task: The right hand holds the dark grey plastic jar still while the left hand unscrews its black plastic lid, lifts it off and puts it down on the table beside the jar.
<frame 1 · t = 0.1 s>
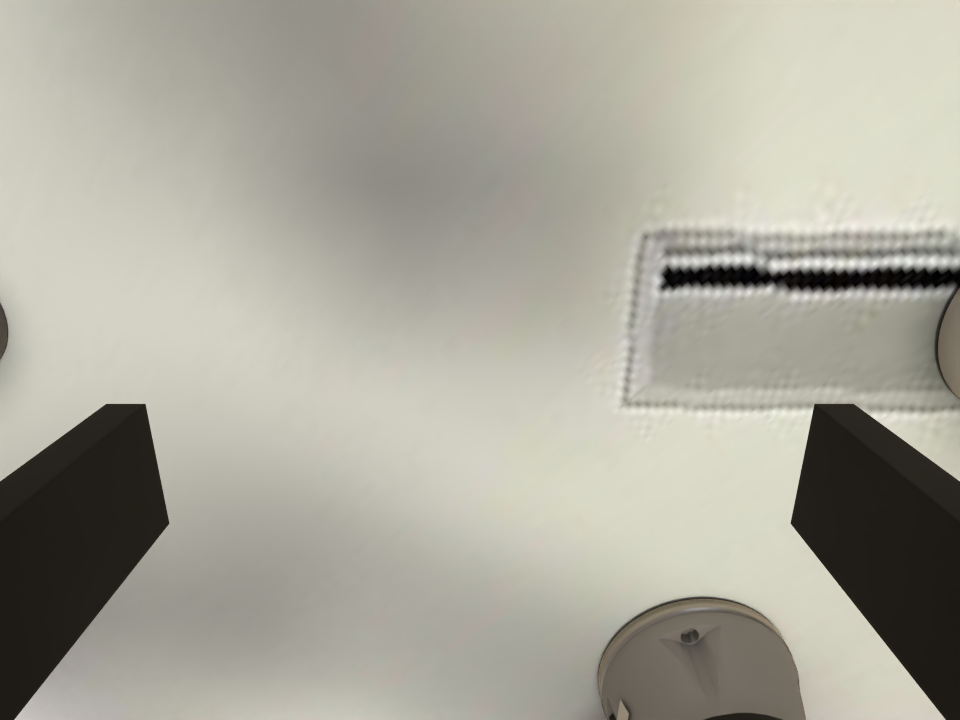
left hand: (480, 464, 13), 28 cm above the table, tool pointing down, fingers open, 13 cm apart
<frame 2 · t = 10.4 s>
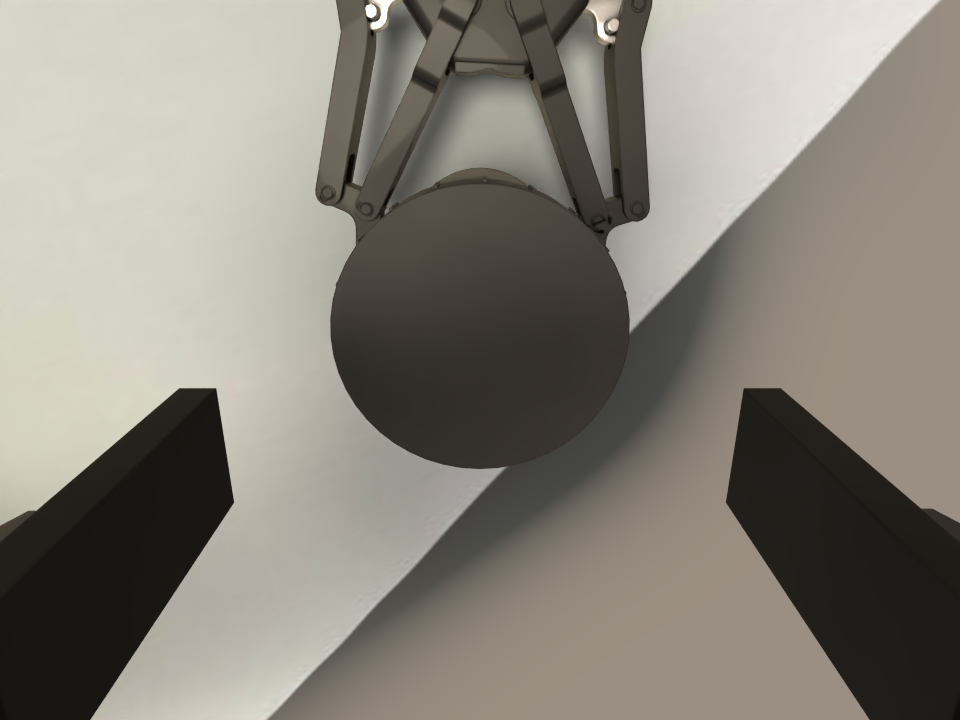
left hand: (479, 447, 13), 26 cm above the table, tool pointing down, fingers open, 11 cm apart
right hand: (475, 348, 33), fingers closed on jar, 8 cm apart
jar: (479, 241, 38), on the table, touching right hand
lid: (479, 334, 21), point 19 cm above the table, screwed on, not yet turned
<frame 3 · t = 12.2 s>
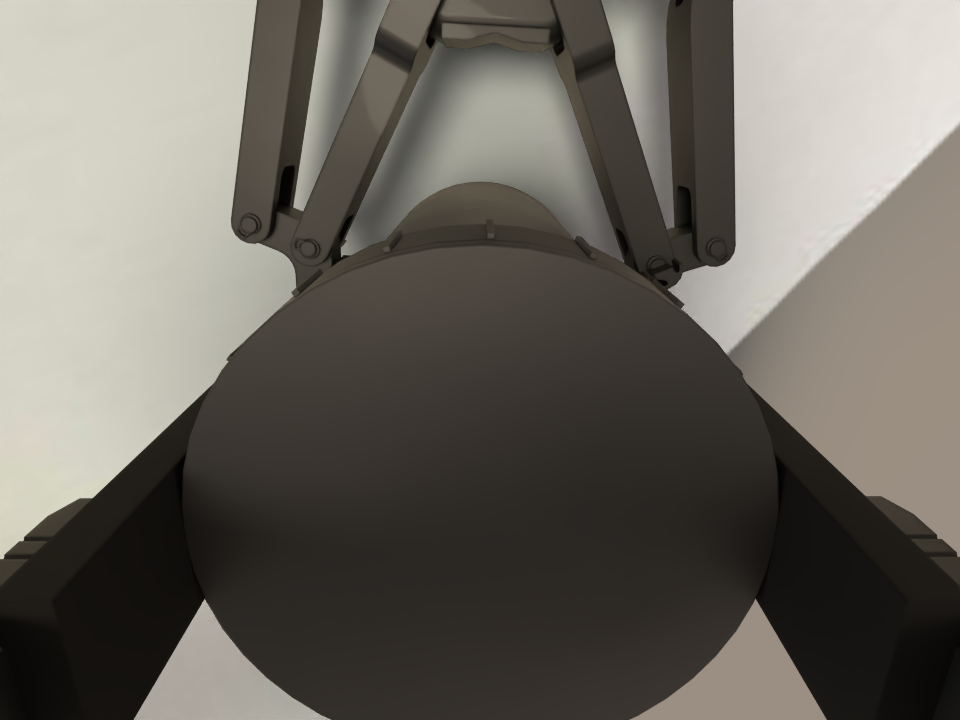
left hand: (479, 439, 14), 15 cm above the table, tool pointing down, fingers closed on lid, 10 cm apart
right hand: (473, 440, 23), fingers closed on jar, 8 cm apart
jar: (479, 280, 28), on the table, touching right hand
lid: (480, 528, 11), point 19 cm above the table, screwed on, not yet turned, touching left hand
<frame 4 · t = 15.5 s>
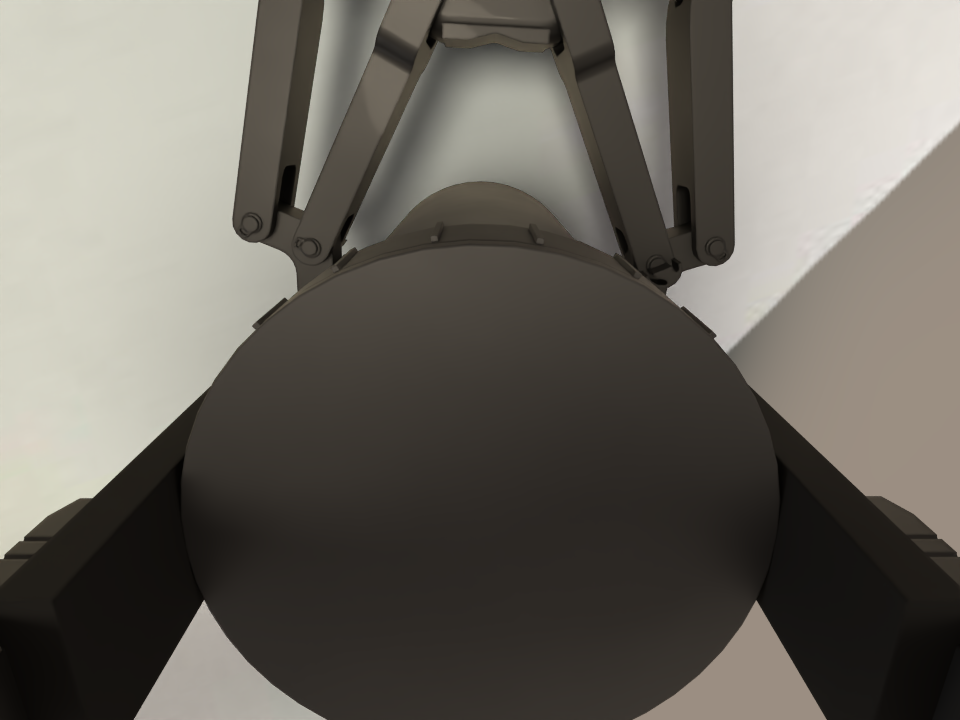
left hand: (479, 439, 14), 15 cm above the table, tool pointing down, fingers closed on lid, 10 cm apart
right hand: (473, 439, 24), fingers closed on jar, 8 cm apart
jar: (480, 279, 28), on the table, touching right hand
lid: (480, 529, 10), point 19 cm above the table, turned 100° so far, risen 0.1 cm, still on its thread, touching left hand
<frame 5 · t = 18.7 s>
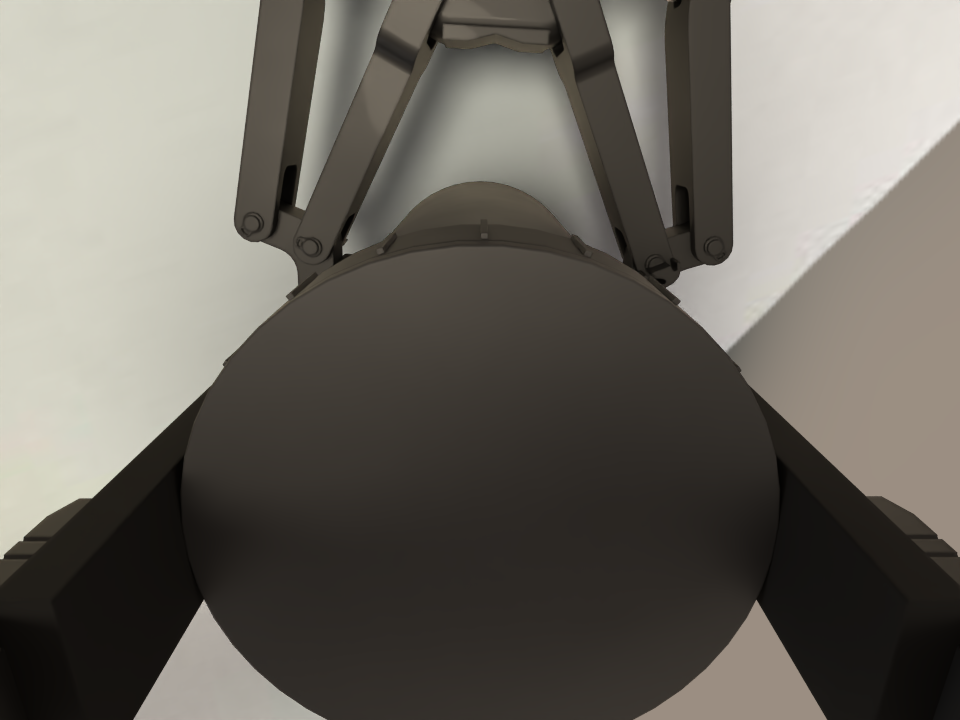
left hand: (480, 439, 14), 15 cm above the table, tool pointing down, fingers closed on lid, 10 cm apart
right hand: (473, 438, 24), fingers closed on jar, 8 cm apart
jar: (480, 279, 28), on the table, touching right hand
lid: (480, 529, 10), point 19 cm above the table, turned 199° so far, risen 0.3 cm, still on its thread, touching left hand
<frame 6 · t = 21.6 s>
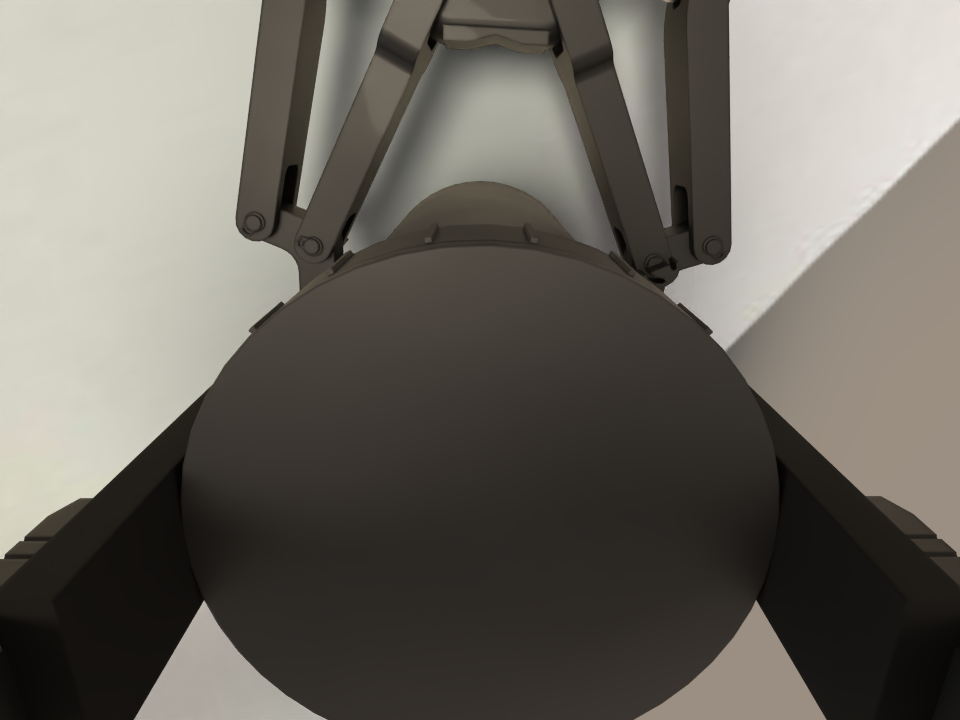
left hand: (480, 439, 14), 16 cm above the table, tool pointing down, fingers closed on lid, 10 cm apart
right hand: (473, 436, 24), fingers closed on jar, 8 cm apart
jar: (480, 278, 28), on the table, touching right hand
lid: (480, 529, 10), point 19 cm above the table, turned 299° so far, risen 0.4 cm, still on its thread, touching left hand
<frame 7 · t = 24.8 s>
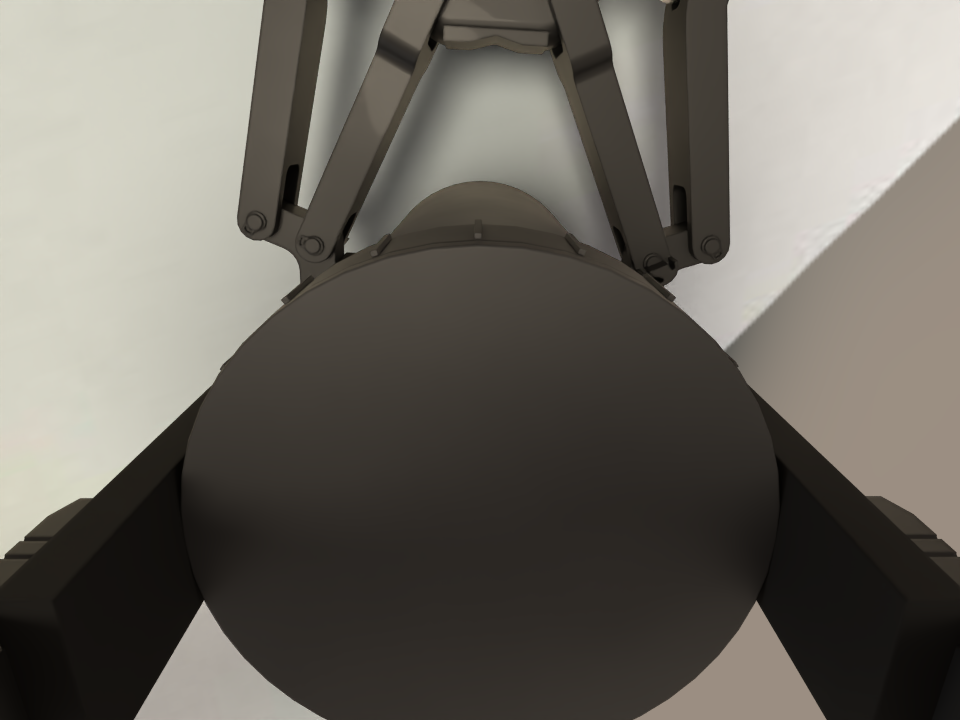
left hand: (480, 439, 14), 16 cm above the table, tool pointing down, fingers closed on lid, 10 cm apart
right hand: (473, 434, 24), fingers closed on jar, 8 cm apart
jar: (480, 278, 28), on the table, touching right hand
lid: (480, 529, 10), point 19 cm above the table, turned 398° so far, risen 0.5 cm, still on its thread, touching left hand
when the left hand's fingers open (0 cm above the table, at t = 32.0 s): lid drops 2 cm, point 2 cm above the table.
when the right hand's fingers open (6 cm above the table, at t = 33.0 s): jar stays where it is, on the table.
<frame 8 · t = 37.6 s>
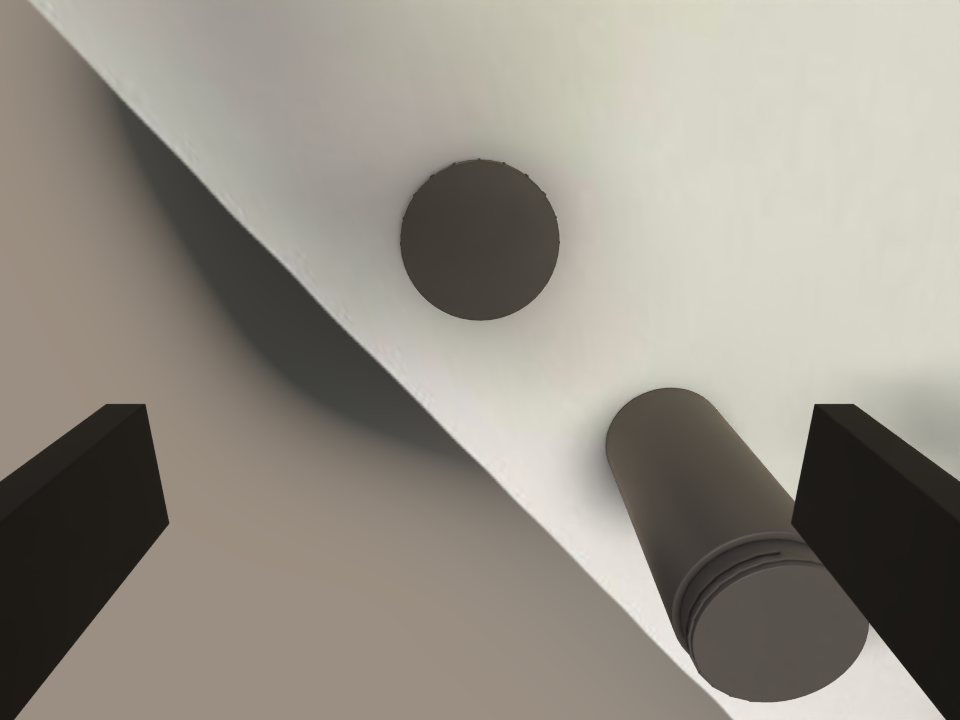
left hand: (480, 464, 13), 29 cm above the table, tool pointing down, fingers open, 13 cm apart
jar: (664, 442, 45), on the table
lid: (479, 243, 38), point 2 cm above the table, off its thread
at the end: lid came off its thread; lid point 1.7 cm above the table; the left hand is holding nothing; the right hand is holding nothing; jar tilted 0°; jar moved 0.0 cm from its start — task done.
